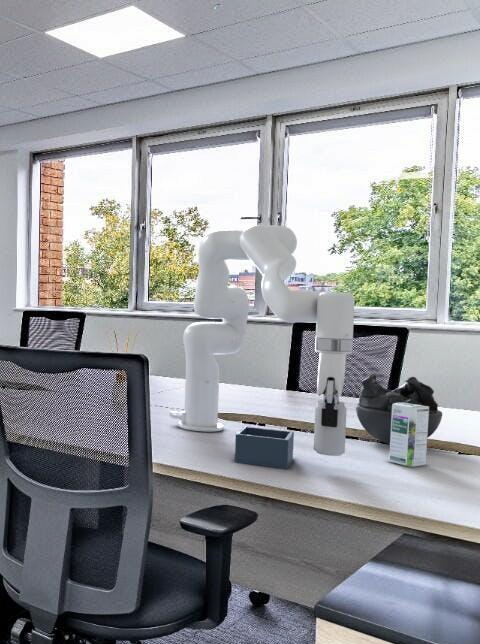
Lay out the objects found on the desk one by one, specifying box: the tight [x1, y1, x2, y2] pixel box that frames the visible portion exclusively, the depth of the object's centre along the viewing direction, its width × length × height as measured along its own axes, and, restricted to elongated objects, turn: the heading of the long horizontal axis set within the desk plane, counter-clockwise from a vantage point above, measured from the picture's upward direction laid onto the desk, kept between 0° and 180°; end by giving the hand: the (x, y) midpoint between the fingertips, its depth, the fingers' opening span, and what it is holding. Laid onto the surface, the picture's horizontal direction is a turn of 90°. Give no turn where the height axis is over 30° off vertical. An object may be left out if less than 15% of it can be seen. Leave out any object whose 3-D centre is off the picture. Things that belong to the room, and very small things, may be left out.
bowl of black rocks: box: [355, 373, 443, 445], centre depth 189 cm, size 20×20×19 cm
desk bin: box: [234, 425, 295, 470], centre depth 169 cm, size 12×12×7 cm
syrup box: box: [388, 403, 429, 468], centre depth 168 cm, size 6×6×14 cm
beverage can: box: [313, 399, 348, 457], centre depth 160 cm, size 6×6×12 cm
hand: (330, 423), depth 160 cm, fingers closed on beverage can, 6 cm apart
